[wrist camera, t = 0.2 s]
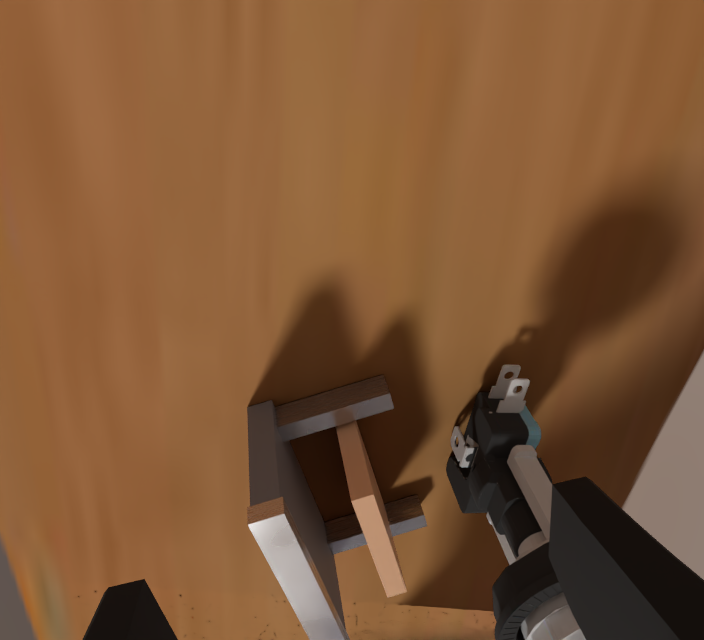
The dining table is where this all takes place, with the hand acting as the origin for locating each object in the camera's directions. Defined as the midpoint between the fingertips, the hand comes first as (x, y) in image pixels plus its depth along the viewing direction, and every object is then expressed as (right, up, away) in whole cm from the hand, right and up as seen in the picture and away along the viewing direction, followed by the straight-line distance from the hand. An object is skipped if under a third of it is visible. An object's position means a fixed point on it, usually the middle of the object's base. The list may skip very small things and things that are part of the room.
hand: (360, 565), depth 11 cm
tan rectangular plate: (0, -2, +16) cm, 16 cm away
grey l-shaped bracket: (-1, -2, +16) cm, 16 cm away
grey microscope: (+6, 0, +16) cm, 17 cm away
